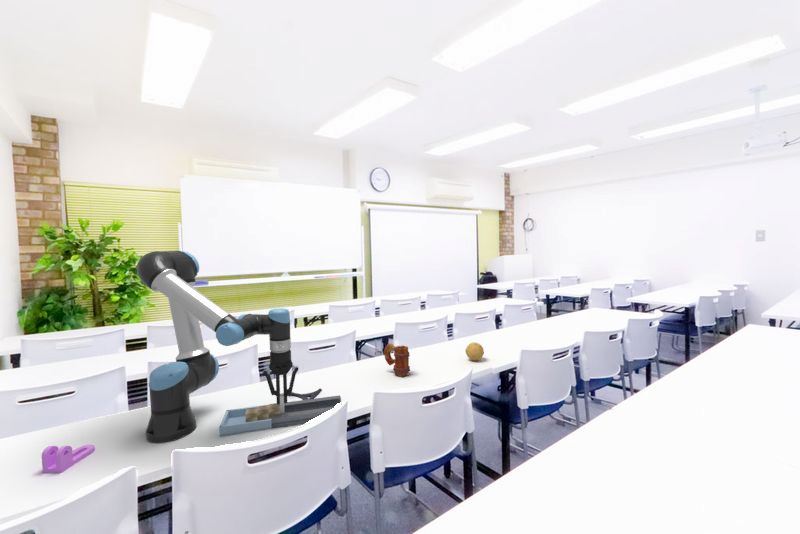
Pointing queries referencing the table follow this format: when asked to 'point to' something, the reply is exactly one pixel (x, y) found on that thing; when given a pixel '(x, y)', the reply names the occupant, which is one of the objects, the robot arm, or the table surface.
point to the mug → (398, 359)
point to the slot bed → (303, 411)
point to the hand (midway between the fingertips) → (282, 411)
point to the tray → (241, 423)
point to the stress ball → (474, 351)
